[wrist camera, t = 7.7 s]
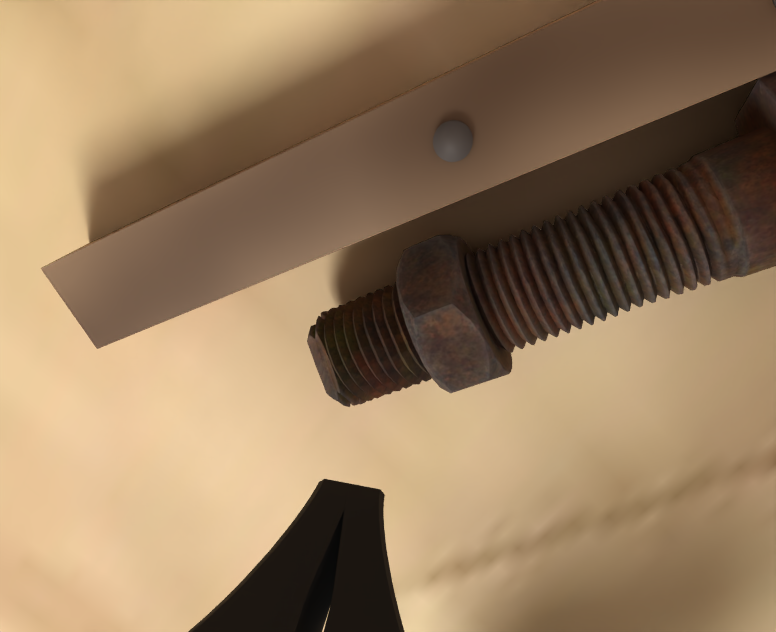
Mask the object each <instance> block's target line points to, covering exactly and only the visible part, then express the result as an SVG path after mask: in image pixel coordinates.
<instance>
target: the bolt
mask: <svg viewBox="0 0 776 632" xmlns="http://www.w3.org/2000/svg"><path fill="white" fill-rule="evenodd" d="M735 124H736V128H737V132H738V136H739V137H737V138H734V139H732V140H730V141H727V142H725V143H723V144H720V145H718V146H716V147H713V148H711V149H709V150H706V151H704V152H702V153H699V154H697V155H694V156H693V157H692V158H691V159H690V160H689V161H688V162H687V163H685V164H682V165H680V166H679V167H678V168H677V170H675V169H672V168H671V169H669V170H667V172H666V173H665V175H664V176H662V175H661V174H660V175H655V176H654V177H653V178H652V182H651V183H650V182H649V181H648V180H642V181H641V183H640V185H639V188H637V187H636V186H635V185H632V186H629V187H627V191H626V195H625V194H624V193H623V192H622V191H620V190H618V191H616V193H615V195H614V198H613V200H612V199H611V198H610V197H608V196H607V195H606V196H604V197H603V200H602V204H601V205H599V204H598V203H596V202H595V201H592V202H591V204H590V207H589V210H588V211H587V210H586V209H585V208H584V207H583V206H582V205H581V206H580V207H579V209H578V213H577V215H574V214H573V213H572V212H571V211H570V210H569V211H568V212H567V215H566V219H565V220H563V219H562V218H561V217H559V216H558V215H557V216H556V217H555V221H554V225H552V224H551V223H549V222H548V221H547V220H545V221H544V224H543V228H542V230H540V229H539V228H538V227H536V226H535V225H534V226H533V227H532V230H531V234H529V233H527V232H526V231H524V230H521V233H520V237H519V239H518V238H517V237H515V236H513V235H512V234H511V235H510V237H509V241H508V243H506V242H504V241H503V240H501V239H500V240H499V243H498V246H497V248H496V247H494V246H493V245H491V244H489V245H488V248H487V252H485V251H483V250H481V249H479V248H478V249H477V253H476V256H474V254H473V252H472V251H471V249H470V248H469V246H468V245H467V244H466V243H465V241H464V240H462V239H461V238H460V237H456V236H452V235H437V236H435V237H433V238H430V239H428V240H426V241H423V242H421V243H419V244H416V245H414V246H412V247H409V248H407V249H405V250H404V251H403V254H402V256H401V259H400V261H399V264H398V266H397V277H396V282H395V284H394V286H393V287H392V286H389V285H388V286H387V287H385V288H384V291H383V290H381V289H379V290H376V292H375V293H374V294H373V293H369V294H367V295H366V296H365V297H359V298H358V299H356V301H349V302H348V303H347V304H346V305H339V307H338V308H332V309H330V310H329V311H324V312H322V313H321V317H320V316H318V318H317V322H316V325H313V326H311V328H310V331H309V335H308V340H307V342H308V345H309V348H310V351H311V353H312V356H313V359H314V362H315V365H316V367H317V370H318V372H319V375H320V378H321V380H322V383H323V385H324V388H325V390H326V393H327V394H328V395H329V396H330V397H332V398H333V399H334V400H336V401H338V402H340V403H341V404H343V405H344V406H348V407H350V403H351V404H352V405H357V404H362V403H365V402H366V401H371V400H372V399H373V398H374V397H375V398H379V397H381V396H383V395H384V394H391V393H392V391H400V390H401V389H402V387H404V388H408V387H410V386H412V384H420V382H421V381H422V380H423V381H428V380H430V379H431V378H433V380H434V381H435V382H436V383H437V384H438V385H439V387H440V388H442V389H444V390H446V391H447V392H449V393H453V392H456V391H459V390H462V389H465V388H468V387H471V386H474V385H477V384H480V383H483V382H486V381H489V380H492V379H495V378H498V377H501V376H504V375H507V374H509V373H510V372H511V369H512V357H511V352H513V350H514V347H515V345H516V346H517V347H519V348H521V349H523V348H524V346H525V343H526V342H528V343H530V344H531V345H534V344H535V342H536V340H537V337H538V338H539V339H541V340H543V341H546V339H547V336H548V333H550V334H551V335H553V336H555V337H557V336H558V335H559V331H560V329H562V330H563V331H565V332H567V333H570V329H571V324H572V325H573V326H575V327H577V328H578V329H581V328H582V323H583V320H585V321H586V322H587V323H589V324H590V325H593V324H594V318H595V316H597V317H598V318H600V319H601V320H603V321H605V320H606V316H607V312H608V313H610V314H612V315H613V316H615V317H616V316H618V311H619V307H620V308H621V309H623V310H625V311H627V312H628V311H630V306H631V303H633V304H635V305H636V306H638V307H641V306H643V300H644V299H646V300H648V301H649V302H651V303H654V302H656V297H657V295H659V296H661V297H663V298H666V299H667V298H669V296H670V290H672V291H673V292H675V293H676V294H683V289H684V286H685V287H687V288H688V289H690V290H695V289H696V287H697V281H698V282H699V283H701V284H703V285H704V286H705V285H709V284H710V282H711V277H712V278H714V279H715V280H717V281H721V280H724V279H727V278H730V277H733V276H736V277H743V276H746V275H749V274H752V273H756V272H759V271H762V270H765V269H768V268H771V267H774V266H776V71H775V72H772V73H770V74H768V75H766V76H763V77H761V78H759V79H758V81H757V82H756V84H755V86H754V88H753V89H752V91H751V93H750V95H749V96H748V98H747V100H746V102H745V103H744V105H743V107H742V109H741V110H740V112H739V114H738V116H737V117H736V119H735Z"/></svg>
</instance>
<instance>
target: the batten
mask: <svg viewBox="0 0 776 632" xmlns="http://www.w3.org/2000/svg"><path fill="white" fill-rule="evenodd" d="M775 71H776V0H597V1H595V2H593V3H591V4H589V5H587V6H585V7H583V8H581V9H579V10H577V11H574V12H572V13H570V14H568V15H566V16H564V17H562V18H560V19H558V20H556V21H554V22H551V23H549V24H547V25H545V26H543V27H541V28H539V29H537V30H535V31H533V32H530V33H528V34H526V35H524V36H522V37H520V38H518V39H516V40H514V41H512V42H510V43H507V44H505V45H503V46H501V47H499V48H497V49H495V50H493V51H491V52H489V53H486V54H484V55H482V56H480V57H478V58H476V59H474V60H472V61H470V62H468V63H466V64H463V65H461V66H459V67H457V68H455V69H453V70H451V71H449V72H447V73H445V74H443V75H440V76H438V77H436V78H434V79H432V80H430V81H428V82H426V83H424V84H422V85H419V86H417V87H415V88H413V89H411V90H409V91H407V92H405V93H403V94H401V95H399V96H396V97H394V98H392V99H390V100H388V101H386V102H384V103H382V104H380V105H378V106H376V107H373V108H371V109H369V110H367V111H365V112H363V113H361V114H359V115H357V116H355V117H352V118H350V119H348V120H346V121H344V122H342V123H340V124H338V125H336V126H334V127H332V128H329V129H327V130H325V131H323V132H321V133H319V134H317V135H315V136H313V137H311V138H308V139H306V140H304V141H302V142H300V143H298V144H296V145H294V146H292V147H290V148H288V149H285V150H283V151H281V152H279V153H277V154H275V155H273V156H271V157H269V158H267V159H265V160H262V161H260V162H258V163H256V164H254V165H252V166H250V167H248V168H246V169H244V170H241V171H239V172H237V173H235V174H233V175H231V176H229V177H227V178H225V179H223V180H221V181H218V182H216V183H214V184H212V185H210V186H208V187H206V188H204V189H202V190H200V191H198V192H195V193H193V194H191V195H189V196H187V197H185V198H183V199H181V200H179V201H177V202H174V203H172V204H170V205H168V206H166V207H164V208H162V209H160V210H158V211H156V212H154V213H151V214H149V215H147V216H145V217H143V218H141V219H139V220H137V221H135V222H133V223H130V224H128V225H126V226H124V227H122V228H120V229H118V230H116V231H114V232H112V233H110V234H107V235H105V236H103V237H101V238H99V239H97V240H95V241H93V242H91V243H89V244H87V245H85V246H83V247H81V248H79V249H77V250H75V251H73V252H71V253H69V254H67V255H65V256H64V257H62V258H60V259H58V260H56V261H54V262H52V263H50V264H48V265H46V266H44V267H42V268H41V269H42V271H43V272H44V274H45V275H46V277H47V278H48V279H49V281H50V282H51V284H52V285H53V287H54V288H55V289H56V291H57V292H58V294H59V295H60V297H61V298H62V299H63V301H64V302H65V304H66V305H67V307H68V308H69V309H70V311H71V312H72V314H73V315H74V317H75V318H76V319H77V321H78V322H79V324H80V325H81V327H82V328H83V329H84V331H85V332H86V334H87V335H88V337H89V338H90V339H91V341H92V342H93V344H94V345H95V347H96V348H97V349H98V348H101V347H103V346H106V345H108V344H110V343H113V342H115V341H118V340H120V339H123V338H125V337H128V336H130V335H132V334H135V333H137V332H140V331H142V330H145V329H147V328H150V327H152V326H154V325H157V324H159V323H162V322H164V321H167V320H169V319H172V318H174V317H176V316H179V315H181V314H184V313H186V312H189V311H191V310H194V309H196V308H198V307H201V306H203V305H206V304H208V303H211V302H213V301H215V300H218V299H220V298H223V297H225V296H228V295H230V294H233V293H235V292H237V291H240V290H242V289H245V288H247V287H250V286H252V285H255V284H257V283H259V282H262V281H264V280H267V279H269V278H272V277H274V276H277V275H279V274H281V273H284V272H286V271H289V270H291V269H294V268H296V267H299V266H301V265H303V264H306V263H308V262H311V261H313V260H316V259H318V258H320V257H323V256H325V255H328V254H330V253H333V252H335V251H338V250H340V249H342V248H345V247H347V246H350V245H352V244H355V243H357V242H360V241H362V240H364V239H367V238H369V237H372V236H374V235H377V234H379V233H382V232H384V231H386V230H389V229H391V228H394V227H396V226H399V225H401V224H404V223H406V222H408V221H411V220H413V219H416V218H418V217H421V216H423V215H425V214H428V213H430V212H433V211H435V210H438V209H440V208H443V207H445V206H447V205H450V204H452V203H455V202H457V201H460V200H462V199H465V198H467V197H469V196H472V195H474V194H477V193H479V192H482V191H484V190H487V189H489V188H491V187H494V186H496V185H499V184H501V183H504V182H506V181H509V180H511V179H513V178H516V177H518V176H521V175H523V174H526V173H528V172H531V171H533V170H535V169H538V168H540V167H543V166H545V165H548V164H550V163H552V162H555V161H557V160H560V159H562V158H565V157H567V156H570V155H572V154H574V153H577V152H579V151H582V150H584V149H587V148H589V147H592V146H594V145H596V144H599V143H601V142H604V141H606V140H609V139H611V138H614V137H616V136H618V135H621V134H623V133H626V132H628V131H631V130H633V129H636V128H638V127H640V126H643V125H645V124H648V123H650V122H653V121H655V120H657V119H660V118H662V117H665V116H667V115H670V114H672V113H675V112H677V111H679V110H682V109H684V108H687V107H689V106H692V105H694V104H697V103H699V102H701V101H704V100H706V99H709V98H711V97H714V96H716V95H719V94H721V93H723V92H726V91H728V90H731V89H733V88H736V87H738V86H741V85H743V84H745V83H748V82H750V81H753V80H755V79H758V78H760V77H762V76H765V75H767V74H770V73H772V72H775Z"/></svg>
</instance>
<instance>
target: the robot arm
mask: <svg viewBox="0 0 776 632" xmlns="http://www.w3.org/2000/svg"><path fill="white" fill-rule="evenodd" d="M383 506H384V493H383V492H382V491H381V490H380V489H375V488H370V487H364V486H359V485H354V484H349V483H344V482H338V481H333V480H328V479H324V480H322V481H320V482H319V483H318V485H317V487H316V489H315V490H314V492H313V493H312V495H311V497H310V498H309V500H308V501H307V503H306V504H305V506H304V507H303V509H302V510H301V511H300V513H299V514H298V515H297V517H296V518H295V520H294V521H293V522H292V524H291V525H290V526H289V527H288V529H287V530H286V531H285V532H284V534H283V535H282V536H281V537H280V539H279V540H278V541H277V542H276V544H275V545H274V546H273V547H272V548H271V550H270V551H269V552H268V553H267V554H266V555H265V557H264V558H263V559H262V560H261V561H260V562H259V563H258V564H257V565H256V566H255V568H254V569H253V570H252V571H251V572H250V573H249V574H248V575H247V576H246V577H245V579H244V580H243V581H242V582H241V583H240V584H239V585H238V586H237V587H236V588H235V589H234V590H233V591H232V592H231V593H230V594H229V595H228V596H227V597H226V598H225V599H224V600H223V601H222V602H221V603H220V604H219V605H217V606H216V607H215V608H214V609H213V610H212V611H211V612H210V613H209V614H208V615H207V616H206V617H205V618H204V619H202V620H201V621H200V622H199V623H198V624H197V625H195V626H194V627H193V628H192V629H191V630H190V631H189V632H322V630H323V627H324V624H325V620H326V617H327V614H328V611H329V614H328V617H327V621H326V625H325V629H324V632H404V629H403V625H402V621H401V618H400V614H399V610H398V606H397V601H396V597H395V593H394V588H393V584H392V579H391V573H390V567H389V562H388V556H387V550H386V542H385V532H384V518H383ZM329 608H330V610H329Z"/></svg>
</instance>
